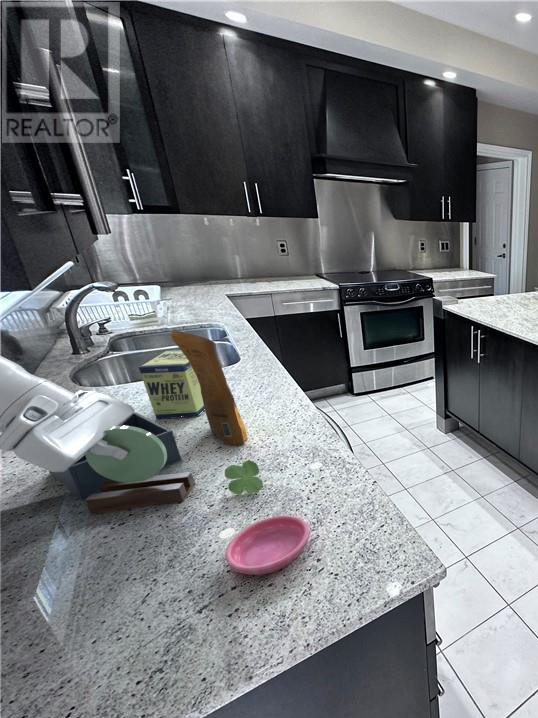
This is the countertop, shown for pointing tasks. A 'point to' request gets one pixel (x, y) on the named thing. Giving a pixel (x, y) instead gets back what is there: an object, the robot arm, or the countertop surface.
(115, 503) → the plate stand
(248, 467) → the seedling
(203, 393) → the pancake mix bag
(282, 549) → the saucer
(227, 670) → the countertop surface
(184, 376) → the protein box
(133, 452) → the plate
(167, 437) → the tub
